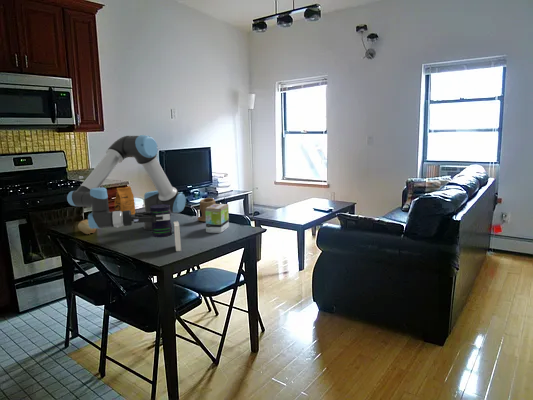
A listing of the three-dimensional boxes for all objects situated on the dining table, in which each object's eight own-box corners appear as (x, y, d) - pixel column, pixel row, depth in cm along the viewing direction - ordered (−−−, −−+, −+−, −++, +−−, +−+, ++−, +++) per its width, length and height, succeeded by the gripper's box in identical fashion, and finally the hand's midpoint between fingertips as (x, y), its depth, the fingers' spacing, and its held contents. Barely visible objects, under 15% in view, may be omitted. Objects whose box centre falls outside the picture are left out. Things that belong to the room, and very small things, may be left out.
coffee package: (113, 219, 280) (110, 187, 276) (129, 215, 289) (126, 185, 286) (121, 220, 274) (118, 188, 270) (137, 217, 283) (134, 186, 279)
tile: (176, 251, 201) (174, 226, 199) (175, 245, 211) (173, 221, 209) (181, 250, 202) (179, 225, 200) (180, 245, 211) (178, 221, 209)
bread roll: (91, 229, 253) (89, 216, 252) (100, 233, 243) (99, 220, 241) (75, 232, 247) (73, 219, 245) (84, 236, 236) (82, 223, 235)
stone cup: (204, 223, 258) (202, 200, 255) (195, 220, 267) (194, 198, 265) (224, 220, 267) (223, 197, 264) (215, 217, 276) (214, 195, 274)
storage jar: (147, 236, 200) (145, 207, 197) (159, 231, 209) (157, 203, 206) (164, 238, 196) (162, 208, 194) (176, 233, 205) (174, 204, 203)
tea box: (222, 233, 234) (220, 208, 231) (205, 232, 236) (204, 208, 233) (229, 226, 248) (228, 203, 246) (214, 226, 250) (212, 203, 248)
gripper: (125, 221, 208) (169, 217, 213) (121, 231, 187) (170, 227, 192) (124, 206, 207) (168, 203, 212) (120, 215, 185) (169, 211, 191)
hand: (169, 214), depth 202 cm, fingers closed on storage jar, 10 cm apart
